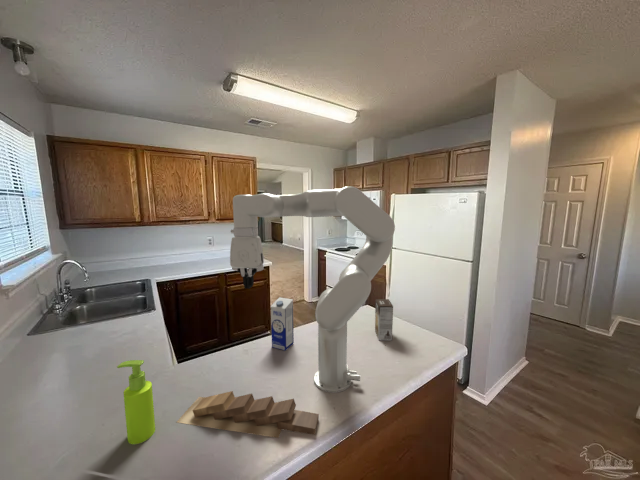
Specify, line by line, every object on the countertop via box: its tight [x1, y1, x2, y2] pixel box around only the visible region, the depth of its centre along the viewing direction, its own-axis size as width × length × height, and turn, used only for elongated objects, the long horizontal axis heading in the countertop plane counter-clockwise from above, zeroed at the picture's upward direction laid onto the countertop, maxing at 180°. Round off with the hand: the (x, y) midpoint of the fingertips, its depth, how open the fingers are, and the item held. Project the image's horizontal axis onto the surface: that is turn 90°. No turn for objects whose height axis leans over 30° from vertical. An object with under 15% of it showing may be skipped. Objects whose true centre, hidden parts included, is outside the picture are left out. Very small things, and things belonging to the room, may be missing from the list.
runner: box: [176, 396, 282, 439], centre depth 73 cm, size 29×10×1 cm, turn 80°
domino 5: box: [277, 409, 320, 436], centre depth 70 cm, size 2×5×10 cm
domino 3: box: [233, 395, 276, 423], centre depth 72 cm, size 2×5×10 cm
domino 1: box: [192, 390, 236, 417], centre depth 74 cm, size 2×5×10 cm
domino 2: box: [212, 393, 255, 420], centre depth 73 cm, size 2×5×10 cm
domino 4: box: [254, 398, 297, 426], centre depth 71 cm, size 2×5×10 cm
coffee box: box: [374, 298, 394, 341], centre depth 120 cm, size 9×6×16 cm
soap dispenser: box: [116, 359, 156, 445], centre depth 66 cm, size 6×7×20 cm
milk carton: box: [270, 296, 295, 352], centre depth 111 cm, size 7×7×20 cm
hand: (248, 287), depth 88 cm, fingers closed
